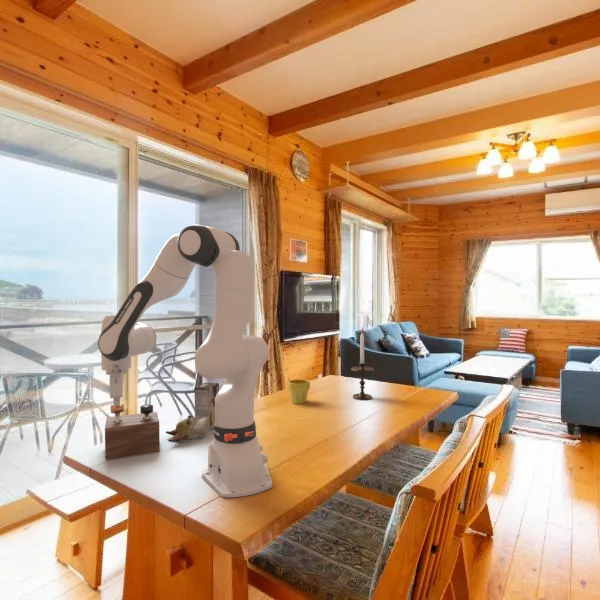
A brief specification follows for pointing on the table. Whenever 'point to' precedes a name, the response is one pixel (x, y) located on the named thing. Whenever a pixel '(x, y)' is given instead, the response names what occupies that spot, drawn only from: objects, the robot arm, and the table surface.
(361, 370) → the candlestick
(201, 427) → the ceramic sculpture
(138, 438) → the block
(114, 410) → the terracotta knob plunger
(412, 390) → the table surface
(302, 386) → the plant pot
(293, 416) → the table surface
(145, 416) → the black knob plunger
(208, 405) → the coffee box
